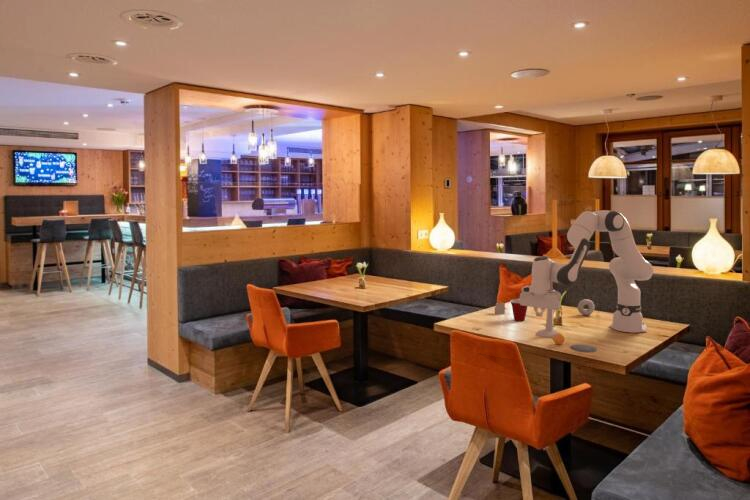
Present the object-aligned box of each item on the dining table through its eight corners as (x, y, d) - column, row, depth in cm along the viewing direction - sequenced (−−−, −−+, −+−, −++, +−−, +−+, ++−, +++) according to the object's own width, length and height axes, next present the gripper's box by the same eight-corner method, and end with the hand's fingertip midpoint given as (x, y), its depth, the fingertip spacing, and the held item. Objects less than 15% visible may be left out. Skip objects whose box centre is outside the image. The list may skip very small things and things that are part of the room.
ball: (554, 342, 279) (555, 331, 279) (565, 344, 276) (566, 333, 275) (551, 344, 275) (551, 333, 274) (562, 346, 272) (562, 335, 271)
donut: (578, 316, 335) (578, 299, 334) (576, 314, 338) (577, 298, 337) (595, 316, 334) (595, 299, 333) (593, 314, 338) (593, 298, 337)
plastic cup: (513, 317, 332) (514, 297, 331) (531, 319, 326) (531, 299, 325) (506, 320, 324) (507, 300, 322) (524, 323, 317) (525, 302, 316)
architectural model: (494, 313, 344) (494, 301, 343) (505, 313, 344) (505, 301, 343) (495, 315, 340) (495, 303, 340) (506, 314, 341) (506, 302, 340)
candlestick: (531, 332, 297) (533, 277, 294) (551, 330, 302) (553, 275, 298) (546, 339, 285) (548, 281, 282) (567, 336, 290) (569, 279, 286)
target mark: (574, 343, 277) (574, 343, 277) (599, 347, 270) (599, 347, 270) (566, 349, 267) (566, 348, 267) (592, 353, 260) (592, 353, 260)
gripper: (563, 290, 275) (561, 318, 276) (523, 286, 287) (522, 312, 288) (558, 292, 270) (557, 320, 271) (518, 287, 282) (517, 314, 283)
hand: (539, 316), depth 280 cm, fingers closed
